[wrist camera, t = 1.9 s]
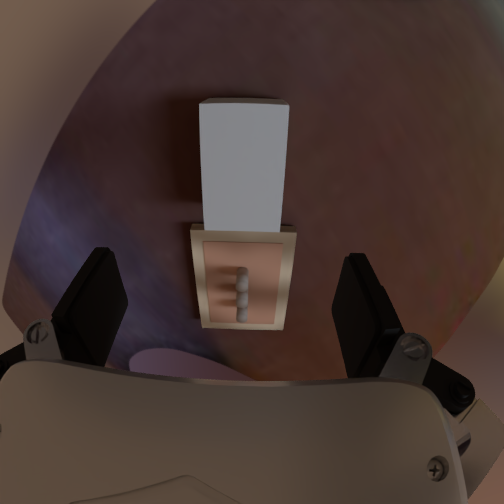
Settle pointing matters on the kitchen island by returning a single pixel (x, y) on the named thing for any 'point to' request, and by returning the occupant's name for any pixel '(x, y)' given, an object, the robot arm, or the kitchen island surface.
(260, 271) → the pin block
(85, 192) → the kitchen island surface
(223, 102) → the block
